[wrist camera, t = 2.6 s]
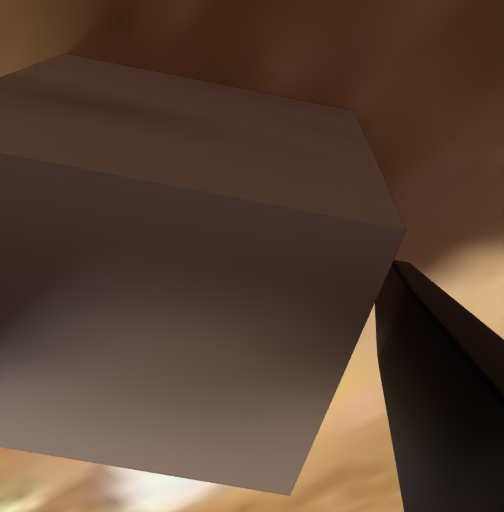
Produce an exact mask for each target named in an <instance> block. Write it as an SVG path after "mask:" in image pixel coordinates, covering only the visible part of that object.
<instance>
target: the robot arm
mask: <svg viewBox="0 0 504 512" xmlns="http://www.w3.org/2000/svg"><path fill="white" fill-rule="evenodd" d="M375 318H376V340H377V356H378V364H379V370H380V376H381V382H382V387H383V393H384V399H385V404H386V410H387V416H388V422H389V427H390V433H391V439H392V444H393V450H394V456H395V462H396V467H397V473H398V479H399V484H400V490H401V496H402V502H403V507H404V512H504V339H502V338H501V337H500V336H499V335H497V334H496V333H495V332H494V331H493V330H491V329H490V328H489V327H488V326H486V325H485V324H484V323H483V322H481V321H480V320H479V319H478V318H477V317H475V316H474V315H473V314H472V313H470V312H469V311H468V310H467V309H465V308H464V307H463V306H462V305H461V304H459V303H458V302H457V301H456V300H454V299H453V298H452V297H451V296H449V295H448V294H447V293H446V292H445V291H443V290H442V289H441V288H440V287H438V286H437V285H436V284H435V283H433V282H432V281H431V280H430V279H429V278H427V277H426V276H425V275H424V274H422V273H421V272H420V271H419V270H417V269H416V268H415V267H414V266H413V265H411V264H410V263H408V262H403V261H398V260H393V262H392V264H391V267H390V269H389V271H388V273H387V276H386V278H385V280H384V283H383V285H382V287H381V289H380V292H379V294H378V296H377V299H376V301H375Z"/></svg>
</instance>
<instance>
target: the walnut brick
mask: <svg viewBox="0 0 504 512" xmlns="http://www.w3.org/2000/svg"><path fill="white" fill-rule="evenodd" d="M405 232H406V228H405V225H404V223H403V221H402V218H401V216H400V214H399V212H398V209H397V207H396V205H395V203H394V200H393V198H392V196H391V194H390V191H389V189H388V187H387V184H386V182H385V180H384V178H383V175H382V173H381V171H380V169H379V166H378V164H377V162H376V160H375V157H374V155H373V153H372V150H371V148H370V146H369V144H368V141H367V139H366V137H365V135H364V132H363V130H362V128H361V126H360V123H359V121H358V119H357V116H356V114H355V112H354V111H352V110H347V109H342V108H337V107H332V106H327V105H322V104H317V103H312V102H307V101H302V100H297V99H292V98H287V97H282V96H277V95H271V94H266V93H261V92H256V91H251V90H246V89H241V88H236V87H231V86H226V85H221V84H216V83H211V82H206V81H201V80H196V79H191V78H186V77H181V76H176V75H171V74H165V73H160V72H155V71H150V70H145V69H140V68H135V67H130V66H125V65H120V64H115V63H110V62H105V61H100V60H95V59H90V58H85V57H80V56H75V55H70V54H63V55H60V56H57V57H54V58H52V59H49V60H46V61H44V62H41V63H38V64H35V65H33V66H30V67H27V68H24V69H22V70H19V71H16V72H14V73H11V74H8V75H5V76H3V77H0V447H3V448H9V449H15V450H21V451H27V452H33V453H39V454H45V455H51V456H57V457H63V458H69V459H75V460H80V461H86V462H92V463H98V464H104V465H110V466H116V467H122V468H128V469H134V470H140V471H146V472H152V473H158V474H163V475H169V476H175V477H181V478H187V479H193V480H199V481H205V482H211V483H217V484H223V485H229V486H235V487H241V488H246V489H252V490H258V491H264V492H270V493H276V494H282V495H288V496H290V494H291V492H292V490H293V488H294V485H295V483H296V481H297V478H298V476H299V474H300V472H301V469H302V467H303V465H304V463H305V460H306V458H307V456H308V453H309V451H310V449H311V447H312V444H313V442H314V440H315V437H316V435H317V433H318V431H319V428H320V426H321V424H322V422H323V419H324V417H325V415H326V412H327V410H328V408H329V406H330V403H331V401H332V399H333V396H334V394H335V392H336V390H337V387H338V385H339V383H340V381H341V378H342V376H343V374H344V371H345V369H346V367H347V365H348V362H349V360H350V358H351V355H352V353H353V351H354V349H355V346H356V344H357V342H358V340H359V337H360V335H361V333H362V330H363V328H364V326H365V324H366V321H367V319H368V317H369V314H370V312H371V310H372V308H373V305H374V303H375V301H376V299H377V296H378V294H379V292H380V289H381V287H382V285H383V283H384V280H385V278H386V276H387V273H388V271H389V269H390V267H391V264H392V262H393V260H394V258H395V255H396V253H397V251H398V248H399V246H400V244H401V242H402V239H403V237H404V235H405Z"/></svg>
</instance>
